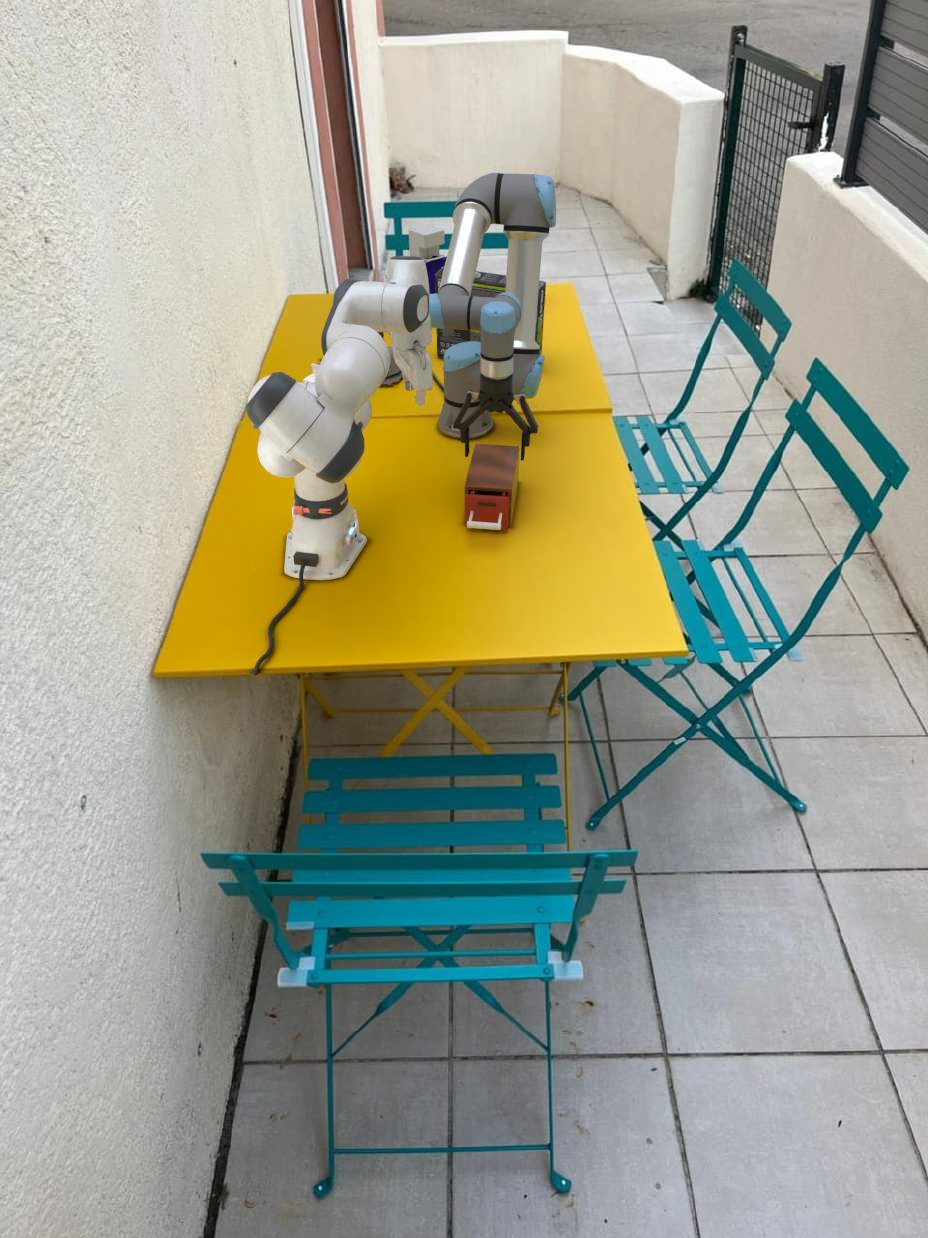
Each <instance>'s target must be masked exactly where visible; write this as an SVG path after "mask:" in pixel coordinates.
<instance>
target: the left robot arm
mask: <svg viewBox="0 0 928 1238" xmlns="http://www.w3.org/2000/svg"><path fill="white" fill-rule="evenodd" d="M386 270H387V271H386V275H387V279H386V281H371V280H369V281H368V280H367V281H366V280H361V279H354V278H353V279H351V278H346V279H345V280H343V281H342V282H341V283H340V284H339V285H338V286H337V287H336V289H335V290H334V294H333V299H332V305H331V308H330V310H329V313H328V315H327V318H326V320H325V323H324V325H323V329H322V331H321V335H320V336H321V337H320V344H321V351H322V356H323V357H322V358H321V359H322V360H320V362H321V363H320V362H319V363H320V365H319V368H318V371H317V374H316V378H315V382H303V381H300V382H299V381H297V379H295V378H294V377H292V376H291V375H289V374H287V373H285V372H283V371H274V372H272V373H271V374H269V375H266V376H264V377H262V378H260V379H259V380H258V382H256V383H255V384H254V385H253V387H252V388H251V390H250V392H249V395H248V398H247V403H246V404H245V411H246V416H247V417H248V419H249V420H250V422H251V424H252V428H253V429H254V430H257V431H258V432H260V434H259V438H258V442H257V457H258V460H259V462H260V464H261V466H262V467H263V469H264V470H265V471H266V472H268V473H269V474H271V475H272V476H275V477H277V478H283V479H284V478H291V477H293V483H294V489H293V504H294V505H293V506H292V508H291V513H292V523H291V524H292V526H291V527H290V530H289V532H288V533H287V535H286V543H285V555H284V574H285V575H287V576H289V577H292V578H295V579H298V580H299V581H298V582H299V585H298V588H297V591H296V593H295V594H294V595H293V597H292V598H291V599H290V600H289V601H288V602H287V603H286V605H285V606H284V607H282V609H281V610H279V611H278V612H277V613H276V615H275V616H274V617H273V618H272V619H271V621H270V623H269V625H268V627H267V637H268V648H267V651H266V652H265V653H264V654H263V655H261V656H260V657H259V658H258V660H257V661H256V663H255V664H254V668H253V672H252V675H253V676H257V675H258V673H259V669H260V666H261V665H262V663H263V662H264V661H265V660H267V658H268V657H269V656H270V655H271V654H272V652H273V650H274V647H275V643H274V642H275V641H274V635H273V629H274V626H275V625H276V623H277V622H278V621H279V619H280V618H281V617H282V616H283V615H284V614H286V613H287V611H288V610H289V609H290V608H291V607H292V605H293V604H294V603H295V602H296V601H297V600H298V599H299V597H300V595H301V593H302V592H303V588H304V584H305V583H304V582H305V581H304V580H310V581H330V580H337V579H340V578H343V577H345V576H346V575H347V573H348V572H349V571H350V569H351V567H352V566H353V564H354V563H355V561H356V559H357V558H358V557H359V556H360V553H361V552H362V551H363V549H364V548H365V546H366V544H367V542H368V539H367V536H366V535H365V534H363V533H361V532H360V527H359V520H358V514H357V510H356V508H354V506H352V505H351V503H350V502H349V489H348V486H347V483H346V482H345V479H347V478H348V477H349V476H351V475H353V473H354V472H356V470H357V469H358V467H359V466H360V464H361V461H362V458H363V455H364V453H365V447H366V446H365V437H364V433H363V432H364V431H365V430H366V429H367V428H368V426H369V424H370V422H371V418H372V414H373V408H372V407H373V406H372V402H371V398H372V397H373V396H374V395H375V393H377V391H378V390H379V389H380V387H381V385H383V384H382V382H383V381H384V379H385V378H386V376H387V373H388V370H389V367H390V352H389V349H388V346H389V345H388V344H387V342H386V341H385V340H384V339H383V338H382V337H381V336H380V334H379V333H377V332H383V333H387V334H388V335H389V338H390V344H391V347H392V350H393V356H394V360H395V363H396V364H397V366H398V367H399V368H400V370H401V371H402V376H403V378H402V379H403V386H404V389H405V390H406V392H410V391H413V390H414V389H415V396H414V399H415V400H414V401H415V404H416V405H417V406H418V407H421V406H425V404H426V395H427V392H428V391H432V390H433V387H434V378H433V376H432V373H433V365H432V359H431V356H430V353H428V351H427V347H428V346H430V345H431V344H432V341H433V337H432V335H433V334H432V327H431V317H430V314H429V301H430V293H429V282H428V275H427V269H426V265H425V261H424V260H423V259H422V258H420V257H417V256H416V257H415V256H410V255H395V256H392V257H389V258H388V260H387V267H386Z"/></svg>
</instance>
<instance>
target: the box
mask: <svg viewBox="0 0 928 1238" xmlns="http://www.w3.org/2000/svg"><path fill="white" fill-rule="evenodd" d="M443 271H444V267H442V269H441V270H440V271H438V272H437V273H436V274H435V276H436V284H435V285H436V293H437V294H438V291H439V287H440V283H441V279H442V275H443ZM546 288H547V281H544V280H540V279H539V291H538V304H537V317H536V330H535V342H536V343H537V344H538V345H539V347H540V352H539V354H542V355H543V340H544V339H543V337H544V320H545V305H546V303H545V302H546ZM505 289H506V274H501V273H500V274H499V273H494V272H485V271H478V270H476V272H475V277H474V281H473V286H472V290H471V295H470V296H475V297H492V298H495V297H496V296H497V295H499V294H501V293H505ZM435 331H436V332H435V333H436V356H437V358H440V359H441V358H442V359H444V354H445V352H446V351H447V350H448V349H449V348H450V347H452V346H454V345H456V344H459V343H463V342H470V341H476V342H481V331H472V330H457V329H440V328H435Z"/></svg>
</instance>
